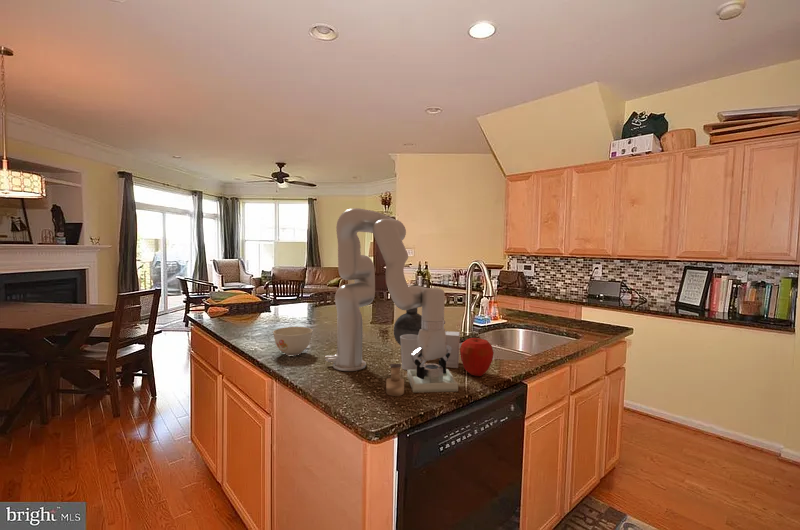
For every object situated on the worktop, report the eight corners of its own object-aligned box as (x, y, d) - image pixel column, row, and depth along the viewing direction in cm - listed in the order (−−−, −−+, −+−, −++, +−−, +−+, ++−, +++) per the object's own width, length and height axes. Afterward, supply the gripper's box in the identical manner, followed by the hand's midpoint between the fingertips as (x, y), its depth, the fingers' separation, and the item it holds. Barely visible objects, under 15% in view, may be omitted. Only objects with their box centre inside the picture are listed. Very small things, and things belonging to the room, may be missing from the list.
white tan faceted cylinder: (386, 396, 117) (387, 367, 117) (385, 389, 123) (386, 361, 122) (404, 395, 118) (405, 367, 118) (402, 388, 124) (403, 361, 123)
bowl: (266, 353, 161) (266, 330, 160) (301, 347, 171) (301, 325, 171) (283, 362, 149) (283, 337, 148) (319, 355, 159) (319, 331, 159)
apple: (454, 370, 143) (455, 333, 143) (483, 368, 146) (484, 332, 145) (467, 381, 131) (468, 341, 131) (499, 379, 134) (500, 339, 133)
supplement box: (458, 368, 145) (459, 335, 145) (438, 366, 147) (439, 334, 146) (459, 362, 153) (460, 331, 152) (440, 361, 154) (441, 330, 154)
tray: (413, 392, 121) (413, 384, 121) (407, 376, 135) (407, 369, 135) (458, 391, 122) (458, 383, 122) (447, 375, 137) (447, 369, 137)
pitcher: (397, 346, 175) (398, 281, 174) (438, 350, 170) (440, 283, 168) (390, 352, 165) (391, 283, 164) (433, 357, 160) (435, 286, 158)
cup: (405, 372, 140) (406, 340, 139) (396, 366, 147) (396, 335, 146) (424, 369, 143) (425, 338, 143) (414, 363, 151) (414, 333, 150)
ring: (445, 380, 130) (445, 366, 129) (435, 386, 124) (436, 371, 124) (423, 375, 134) (424, 361, 134) (413, 381, 129) (413, 366, 128)
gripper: (444, 320, 136) (442, 367, 137) (405, 325, 126) (404, 376, 127) (459, 324, 130) (457, 373, 131) (419, 330, 120) (418, 383, 121)
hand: (431, 375), depth 129 cm, fingers open, 9 cm apart
